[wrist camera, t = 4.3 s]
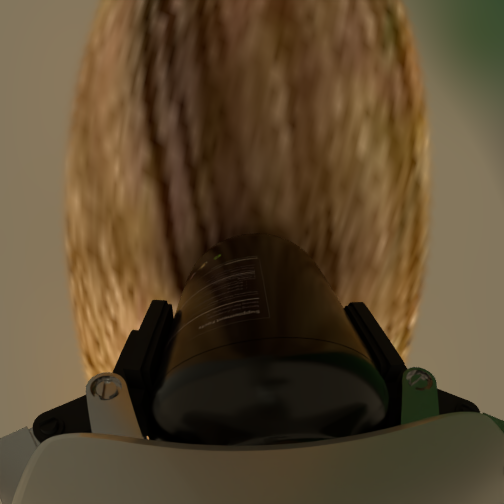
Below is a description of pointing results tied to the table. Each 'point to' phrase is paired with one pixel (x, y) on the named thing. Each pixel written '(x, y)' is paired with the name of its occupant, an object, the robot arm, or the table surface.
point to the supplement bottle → (263, 354)
